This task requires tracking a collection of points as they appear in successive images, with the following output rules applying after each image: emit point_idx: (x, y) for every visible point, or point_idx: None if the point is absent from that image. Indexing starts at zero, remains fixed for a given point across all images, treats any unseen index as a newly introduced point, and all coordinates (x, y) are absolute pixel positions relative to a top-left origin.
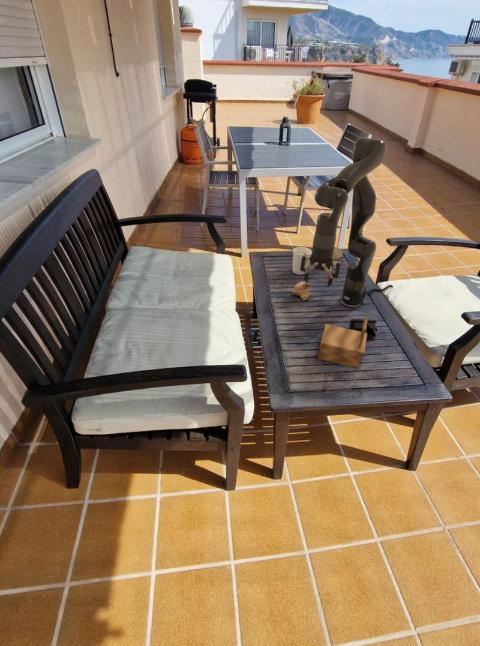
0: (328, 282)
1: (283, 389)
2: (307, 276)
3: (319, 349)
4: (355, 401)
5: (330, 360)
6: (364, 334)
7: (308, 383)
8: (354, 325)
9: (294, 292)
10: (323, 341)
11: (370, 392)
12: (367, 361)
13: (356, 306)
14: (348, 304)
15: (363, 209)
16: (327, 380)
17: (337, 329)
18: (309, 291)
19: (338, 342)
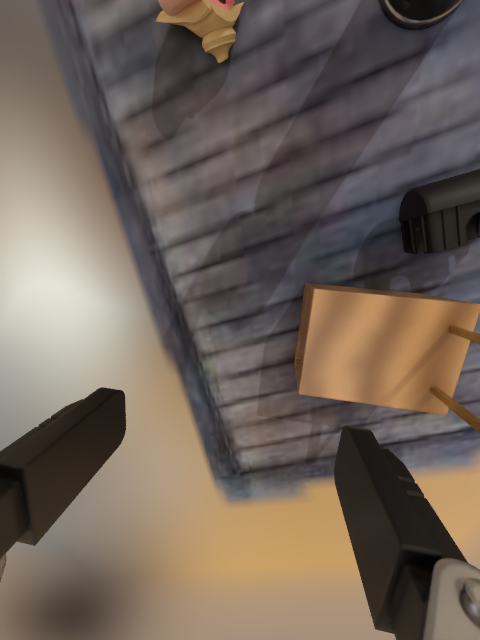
0: (355, 533)
1: (228, 468)
2: (64, 503)
3: (296, 381)
4: None
5: None
6: (468, 316)
7: (277, 446)
8: (429, 231)
9: (170, 23)
10: (307, 387)
11: (423, 450)
12: None
13: (452, 10)
14: (415, 15)
15: None
16: (319, 431)
17: (358, 312)
18: None
19: (358, 382)
